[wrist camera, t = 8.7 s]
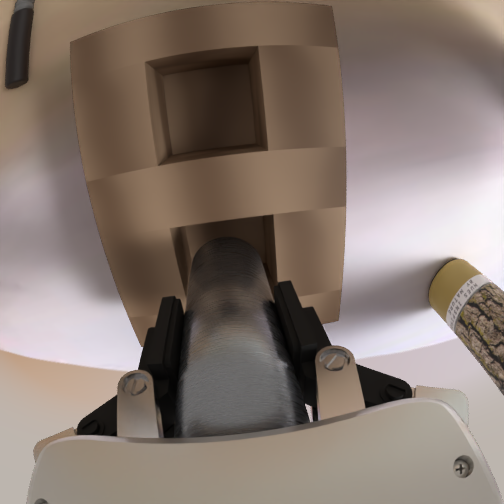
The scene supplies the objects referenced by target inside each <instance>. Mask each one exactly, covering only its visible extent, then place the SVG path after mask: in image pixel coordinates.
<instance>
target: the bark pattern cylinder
mask: <svg viewBox="0 0 504 504" xmlns="http://www.w3.org/2000/svg"><path fill="white" fill-rule="evenodd" d="M429 302H430V305H431V306H432V308H433V309H434V310H435V311H436V312H437V313H438V314H439V315H440V317H441V318H442V319H443V320H444V321H445V322H446V323H447V325H448V326H449V327H450V328H451V329H452V331H453V332H454V333H455V334H456V335H457V336H458V338H459V339H460V340H461V341H462V342H463V343H464V345H465V346H466V347H467V348H468V350H469V351H470V352H471V353H472V354H473V356H474V357H475V358H476V359H477V361H478V362H479V363H480V364H481V366H482V367H483V368H484V370H485V371H486V372H487V374H488V375H489V376H490V377H491V379H492V380H493V382H494V383H495V384H496V385H497V387H498V388H499V389H500V391H501V392H502V394H503V395H504V292H503V291H502V290H501V289H500V288H499V287H498V286H497V285H495V284H494V283H493V282H492V281H491V280H489V279H488V278H487V277H486V276H484V275H483V274H482V273H481V272H479V271H478V270H477V269H476V268H474V267H473V266H472V265H470V264H469V263H468V262H467V261H465V260H463V259H456V260H452V261H450V262H448V263H447V264H446V265H444V266H443V267H442V268H441V269H440V271H439V272H438V273H437V274H436V276H435V278H434V279H433V281H432V284H431V286H430V290H429Z"/></svg>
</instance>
